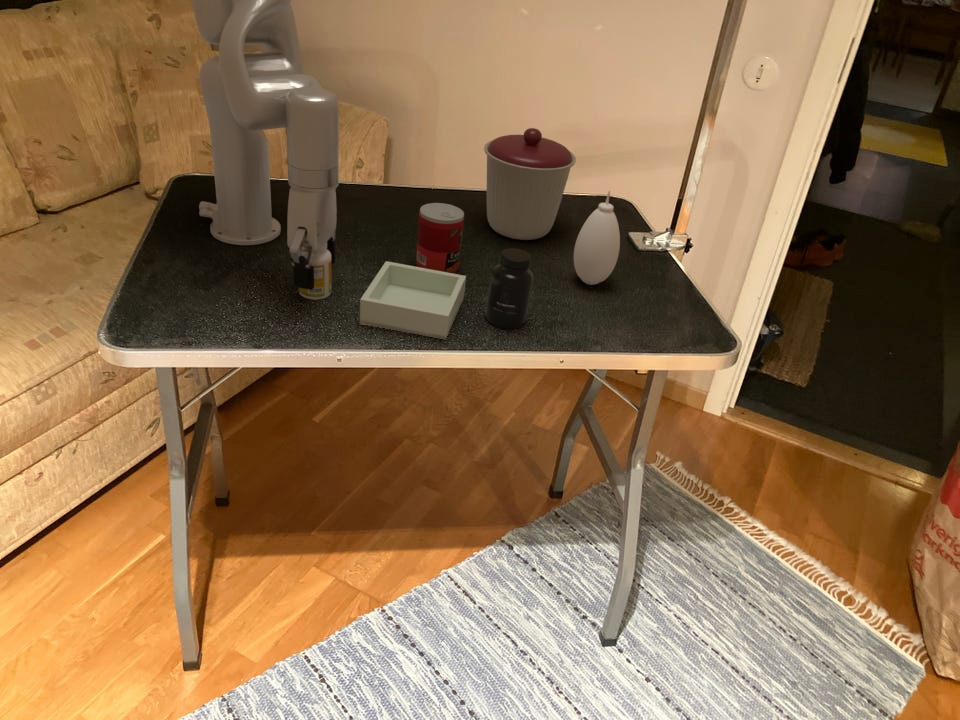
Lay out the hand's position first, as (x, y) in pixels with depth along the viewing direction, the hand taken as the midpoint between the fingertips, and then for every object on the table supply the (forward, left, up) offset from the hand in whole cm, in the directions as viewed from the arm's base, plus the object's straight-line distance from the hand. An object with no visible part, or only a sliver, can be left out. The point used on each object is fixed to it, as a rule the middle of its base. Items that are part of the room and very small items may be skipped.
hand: (315, 274), depth 123 cm
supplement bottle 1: (0, 0, -4) cm, 4 cm away
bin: (+17, 0, -3) cm, 17 cm away
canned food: (+17, +17, -4) cm, 24 cm away
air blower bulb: (+45, +22, -4) cm, 50 cm away
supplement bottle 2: (+32, +3, -4) cm, 32 cm away
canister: (+29, +40, -4) cm, 50 cm away
